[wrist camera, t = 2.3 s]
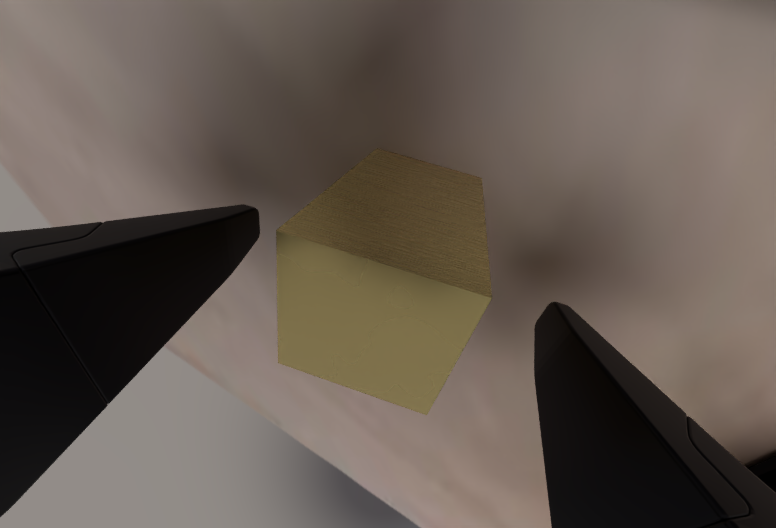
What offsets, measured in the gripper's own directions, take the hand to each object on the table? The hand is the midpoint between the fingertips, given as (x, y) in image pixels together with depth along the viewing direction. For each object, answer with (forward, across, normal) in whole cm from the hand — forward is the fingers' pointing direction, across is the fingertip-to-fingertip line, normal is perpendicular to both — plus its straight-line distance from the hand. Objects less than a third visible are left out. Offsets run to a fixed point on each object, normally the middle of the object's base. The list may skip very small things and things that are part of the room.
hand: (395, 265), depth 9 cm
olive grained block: (+4, 0, 0) cm, 4 cm away
